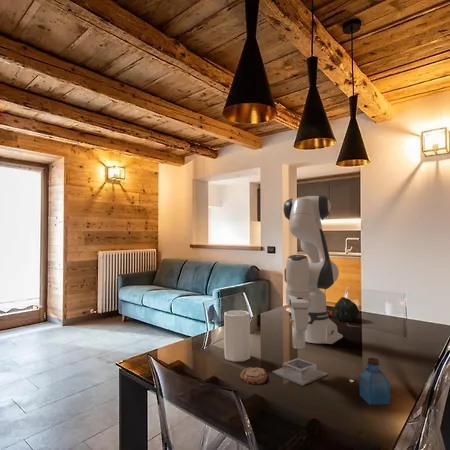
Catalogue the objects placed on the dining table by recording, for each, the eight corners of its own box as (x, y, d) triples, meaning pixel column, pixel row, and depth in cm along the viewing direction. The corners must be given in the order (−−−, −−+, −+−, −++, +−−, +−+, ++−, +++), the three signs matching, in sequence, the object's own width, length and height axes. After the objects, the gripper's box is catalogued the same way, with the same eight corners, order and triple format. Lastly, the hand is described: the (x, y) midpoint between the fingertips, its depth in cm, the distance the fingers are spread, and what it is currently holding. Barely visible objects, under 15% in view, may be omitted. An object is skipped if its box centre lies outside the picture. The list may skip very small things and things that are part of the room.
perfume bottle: (359, 395, 103) (358, 356, 104) (378, 394, 103) (377, 355, 104) (370, 405, 97) (368, 363, 97) (390, 404, 97) (388, 362, 98)
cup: (232, 364, 130) (231, 316, 131) (219, 355, 140) (219, 311, 141) (255, 359, 136) (255, 313, 137) (241, 351, 145) (241, 309, 146)
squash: (361, 309, 207) (344, 291, 209) (365, 315, 192) (347, 295, 194) (343, 323, 209) (327, 305, 211) (347, 330, 194) (329, 311, 197)
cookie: (249, 387, 110) (249, 378, 110) (235, 375, 120) (235, 367, 120) (274, 382, 114) (274, 373, 114) (259, 371, 124) (259, 363, 124)
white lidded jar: (289, 344, 123) (289, 318, 124) (307, 345, 122) (306, 318, 123) (290, 348, 118) (290, 321, 119) (308, 349, 118) (308, 321, 118)
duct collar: (296, 364, 130) (296, 354, 130) (327, 374, 119) (327, 364, 119) (272, 373, 121) (272, 363, 121) (303, 385, 110) (302, 374, 110)
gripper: (287, 294, 132) (287, 329, 131) (291, 303, 112) (292, 345, 111) (303, 294, 131) (304, 329, 131) (310, 304, 111) (311, 345, 110)
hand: (298, 336), depth 121 cm, fingers closed on white lidded jar, 5 cm apart
